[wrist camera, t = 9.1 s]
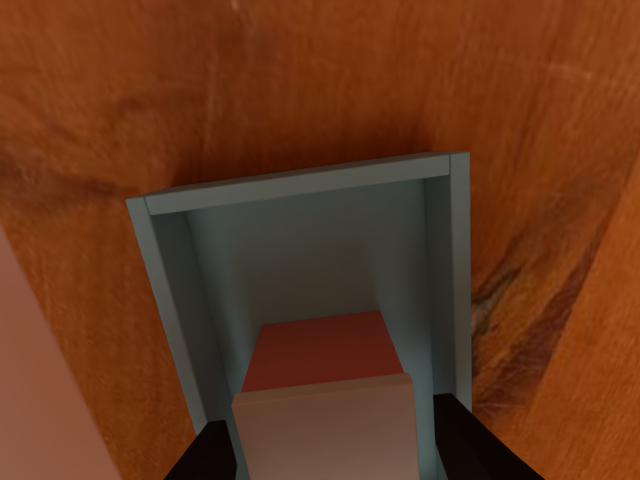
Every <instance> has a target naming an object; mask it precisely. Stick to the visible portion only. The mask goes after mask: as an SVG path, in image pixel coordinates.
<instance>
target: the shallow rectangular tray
mask: <svg viewBox="0 0 640 480" xmlns="http://www.w3.org/2000/svg"><path fill="white" fill-rule="evenodd" d="M126 204H127V207H128V211H129V214H130V217H131V221H132V224H133V227H134V231H135V234H136V237H137V241H138V244H139V247H140V251H141V254H142V257H143V260H144V264H145V267H146V270H147V274H148V277H149V280H150V284H151V287H152V290H153V294H154V297H155V300H156V304H157V307H158V310H159V314H160V317H161V320H162V324H163V327H164V330H165V334H166V337H167V340H168V343H169V347H170V350H171V353H172V357H173V360H174V363H175V367H176V370H177V373H178V377H179V380H180V383H181V387H182V390H183V393H184V397H185V400H186V403H187V407H188V410H189V413H190V416H191V420H192V423H193V426H194V430H195V433H196V436H198V434H199V433H200V432H201V430H202V429H203V428H204V427H205V425H206V424H207V423H208V422H209V421H218V420H226V423H227V427H228V431H229V434H230V438H231V442H232V446H233V450H234V453H235V457H236V461H237V472H236V479H235V480H250V477H249V473H248V469H247V465H246V461H245V457H244V453H243V450H242V446H241V442H240V438H239V434H238V430H237V426H236V422H235V418H234V414H233V410H232V407H231V405H232V402H233V399H234V396H235V394H236V393H240V392H241V389H242V386H243V383H244V379H245V376H246V373H247V370H248V367H249V363H250V360H251V357H252V354H253V351H254V348H255V344H256V341H257V338H258V335H259V332H260V328H261V326H262V325H267V324H275V323H283V322H291V321H298V320H306V319H314V318H322V317H330V316H338V315H346V314H354V313H362V312H370V311H378V310H379V311H380V312H381V314H382V317H383V319H384V322H385V324H386V327H387V330H388V332H389V335H390V337H391V340H392V342H393V345H394V347H395V350H396V352H397V355H398V357H399V360H400V362H401V365H402V368H403V370H404V373H409V374H410V376H411V379H412V381H413V383H414V396H415V412H416V427H417V442H418V457H419V473H420V480H448V478H447V476H446V473H445V470H444V467H443V464H442V461H441V458H440V455H439V452H438V449H437V446H436V443H435V428H434V407H433V395H436V394H444V393H452V394H453V395H454V396H455V397H456V398H457V399H458V400H459V401H460V402H461V403H462V404H463V405H464V406H465V407H466V408H467V409H468V410H469V411H470V412H471V413H472V391H471V248H470V153H469V152H468V151H428V152H421V153H414V154H406V155H399V156H392V157H385V158H378V159H370V160H363V161H356V162H349V163H341V164H334V165H327V166H320V167H313V168H305V169H298V170H291V171H284V172H276V173H269V174H262V175H255V176H248V177H240V178H233V179H226V180H219V181H211V182H204V183H197V184H190V185H183V186H175V187H169V188H166V189H162V190H158V191H154V192H150V193H146V194H142V195H138V196H134V197H130V198H127V199H126Z"/></svg>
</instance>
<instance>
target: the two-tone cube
mask: <svg viewBox="0 0 640 480" xmlns="http://www.w3.org/2000/svg"><path fill="white" fill-rule="evenodd" d="M231 407H232V410H233V414H234V418H235V422H236V426H237V430H238V434H239V438H240V442H241V446H242V450H243V453H244V457H245V461H246V465H247V469H248V473H249V477H250V480H420V473H419V457H418V442H417V427H416V412H415V396H414V383H413V381H412V379H411V376H410V374H409V373H404V370H403V368H402V365H401V362H400V360H399V357H398V355H397V352H396V350H395V347H394V345H393V342H392V340H391V337H390V335H389V332H388V330H387V327H386V324H385V322H384V319H383V317H382V314H381V312H380V311H379V310H378V311H370V312H362V313H354V314H346V315H338V316H330V317H322V318H314V319H306V320H298V321H291V322H283V323H275V324H267V325H262V326H261V328H260V332H259V335H258V338H257V341H256V344H255V348H254V351H253V354H252V357H251V360H250V363H249V367H248V370H247V373H246V376H245V379H244V383H243V386H242V389H241V392H240V393H236V394H235V396H234V399H233V402H232V405H231Z"/></svg>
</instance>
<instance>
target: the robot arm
mask: <svg viewBox="0 0 640 480" xmlns="http://www.w3.org/2000/svg"><path fill="white" fill-rule="evenodd" d="M433 407H434V428H435V443H436V446H437V449H438V452H439V455H440V458H441V461H442V464H443V467H444V470H445V473H446V476H447V478H448V480H545V479H544V478H543V477H541V476H540V475H539V474H538V473H537V472H535V471H534V470H533V469H532V468H531V467H529V466H528V465H527V464H526V463H525V462H524V461H522V460H521V459H520V458H519V457H518V456H517V455H515V454H514V453H513V452H512V451H511V450H510V449H509V448H508V447H507V446H505V445H504V444H503V443H502V442H501V441H500V440H499V439H498V438H497V437H496V436H495V435H493V434H492V433H491V432H490V431H489V430H488V429H487V428H486V427H485V426H484V425H483V424H482V423H481V422H480V421H479V420H478V419H477V418H476V417H475V416H474V415H473V414H472V413H471V412H470V411H469V410H468V409H467V408H466V407H465V406H464V405H463V404H462V403H461V402H460V401H459V400H458V399H457V398H456V397H455V396H454V395H453V394H452V393H444V394H436V395H433ZM236 472H237V461H236V457H235V453H234V450H233V446H232V442H231V438H230V434H229V431H228V427H227V423H226V420H218V421H209V422H208V423H207V424H206V425H205V427H204V428H203V429H202V430H201V432H200V433H199V434H198V436H197V437H196V438H195V440H194V441H193V442H192V443H191V445H190V446H189V447H188V449H187V450H186V451H185V453H184V454H183V455H182V457H181V458H180V459H179V460H178V462H177V463H176V464H175V466H174V467H173V468H172V469H171V471H170V472H169V473H168V474H167V476H166V477H165V478H164V479H163V480H235V479H236Z"/></svg>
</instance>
